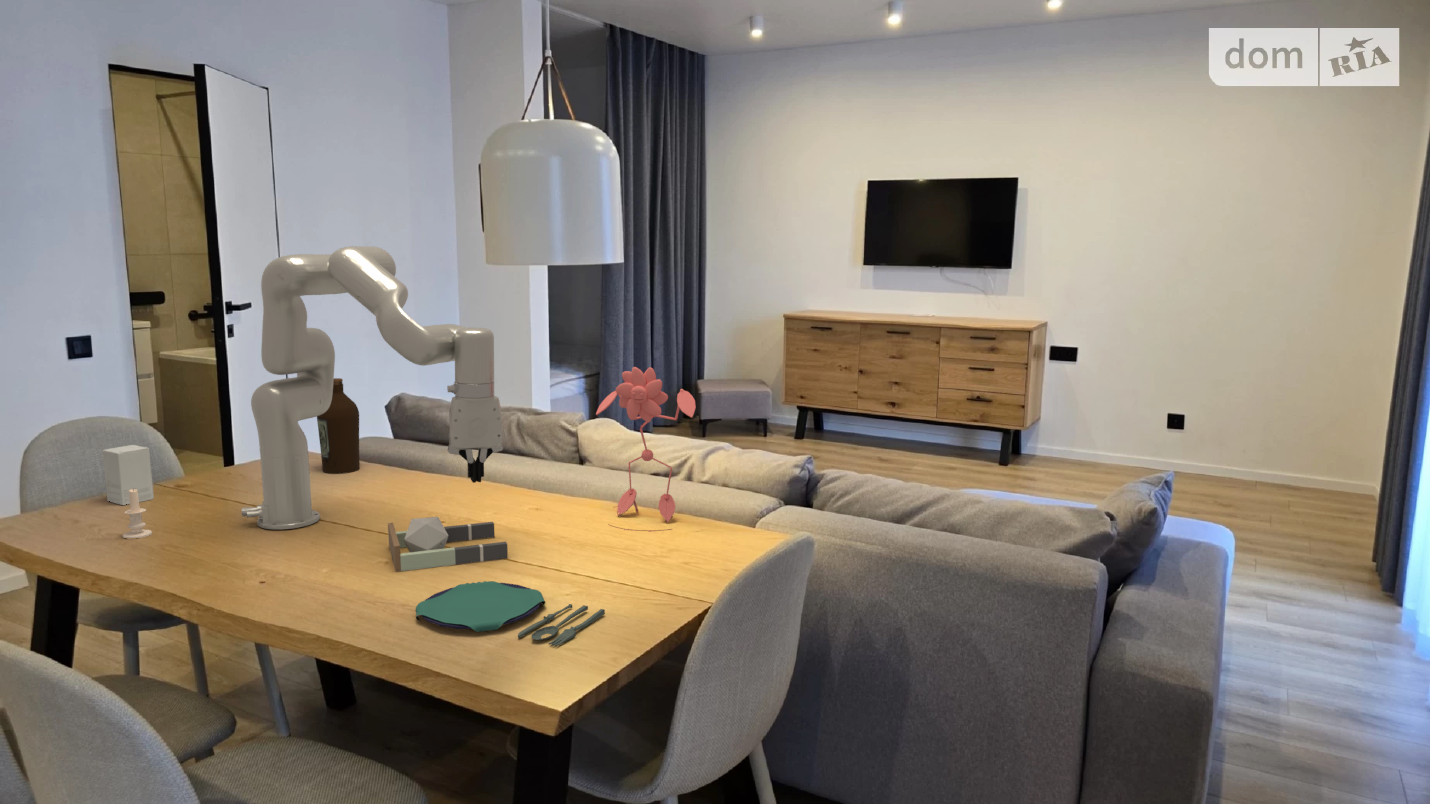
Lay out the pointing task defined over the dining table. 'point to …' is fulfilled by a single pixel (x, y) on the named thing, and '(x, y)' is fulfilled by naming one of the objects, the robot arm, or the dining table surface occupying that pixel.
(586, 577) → the dining table surface
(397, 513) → the dining table surface
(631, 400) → the figurine
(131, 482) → the supplement box
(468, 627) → the cutlery set
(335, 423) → the olive oil
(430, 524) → the die
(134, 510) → the candle
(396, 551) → the trap lane
